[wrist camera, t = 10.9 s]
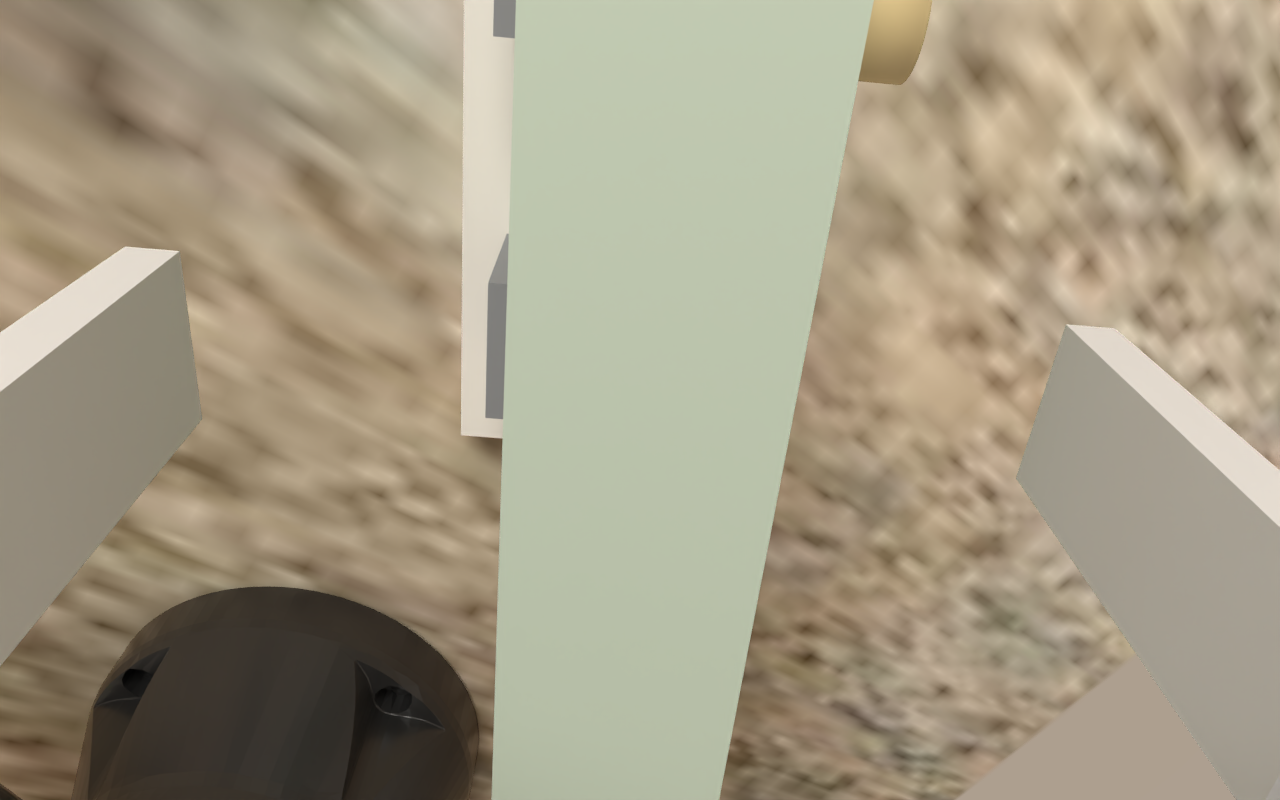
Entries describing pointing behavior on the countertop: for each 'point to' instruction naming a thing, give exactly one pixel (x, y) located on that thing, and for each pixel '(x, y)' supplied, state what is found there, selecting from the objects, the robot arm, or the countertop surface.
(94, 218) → the countertop surface
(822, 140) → the door
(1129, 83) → the countertop surface
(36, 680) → the countertop surface
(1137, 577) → the robot arm
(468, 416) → the cabinet base
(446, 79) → the countertop surface
